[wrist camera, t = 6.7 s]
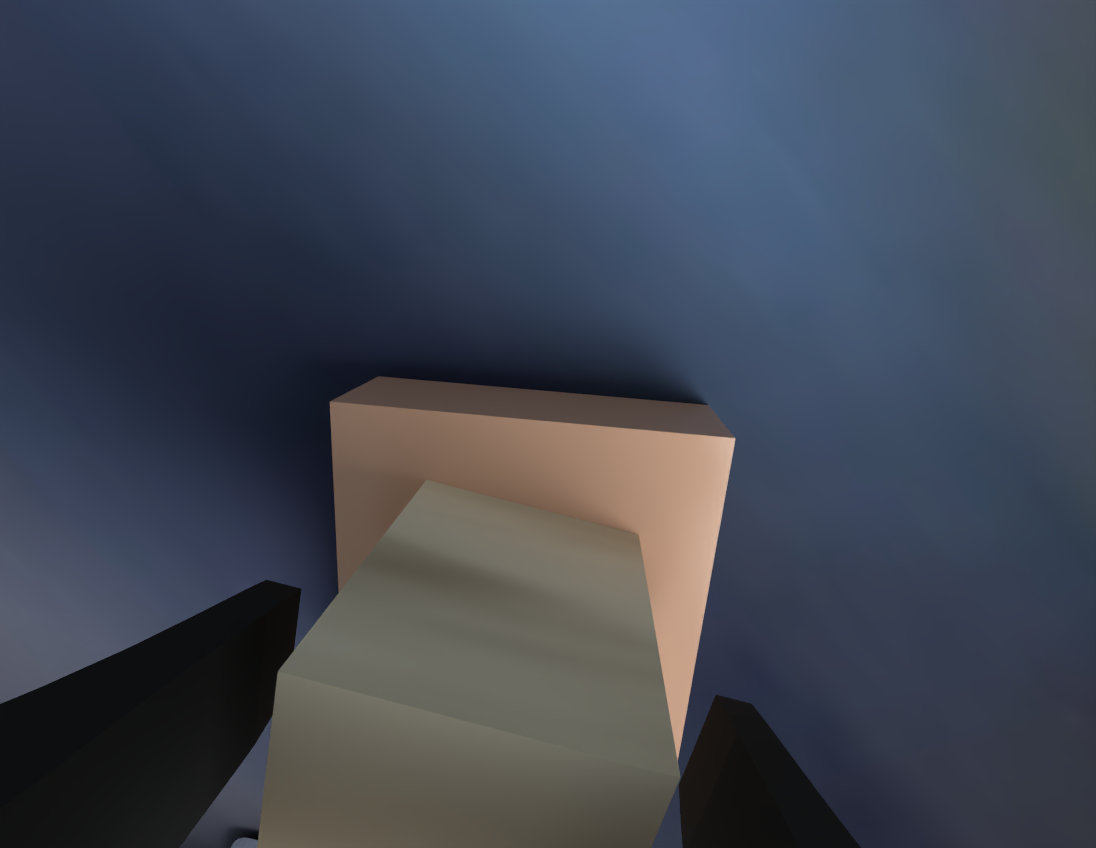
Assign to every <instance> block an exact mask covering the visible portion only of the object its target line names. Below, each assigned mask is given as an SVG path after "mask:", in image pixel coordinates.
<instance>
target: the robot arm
mask: <svg viewBox="0 0 1096 848" xmlns="http://www.w3.org/2000/svg"><path fill="white" fill-rule="evenodd" d="M300 594H301V589H300V588H296V587H292V586H288V585H285V584H281V583H277V582H273V581H269V580H265V581H263V582H261V583H259V584H257V585H254V586H252V587H250V588H248V589H246V590H244V591H242V592H240V593H238V594H236V595H234V596H232V597H230V598H228V599H226V600H224V601H222V602H220V603H218V604H216V605H215V606H213V607H211V608H209V609H207V610H205V611H203V612H201V613H199V614H197V615H195V616H193V617H191V618H189V619H187V620H185V621H183V622H181V623H179V624H177V625H174V626H172V627H170V628H168V629H166V630H164V631H162V632H160V633H158V634H156V635H154V636H152V637H150V638H148V639H146V640H144V641H142V642H140V643H138V644H136V645H134V646H132V647H129V648H127V649H125V650H123V651H121V652H118V653H116V654H114V655H112V656H110V657H107V658H105V659H103V660H101V661H98V662H96V663H94V664H92V665H89V666H87V667H85V668H83V669H81V670H78V671H76V672H74V673H72V674H69V675H67V676H65V677H63V678H60V679H58V680H56V681H54V682H52V683H49V684H47V685H45V686H43V687H40V688H38V689H36V690H33V691H31V692H28V693H26V694H24V695H21V696H19V697H16V698H14V699H11V700H9V701H7V702H4V703H2V704H0V848H179V847H180V846H181V844H182V843H183V841H184V840H185V839H186V837H187V836H188V835H189V833H190V832H191V831H192V829H193V828H194V827H195V825H196V824H197V823H198V821H199V820H200V819H201V817H202V816H203V815H204V813H205V812H206V811H207V809H208V808H209V806H210V805H211V804H212V802H213V801H214V800H215V798H216V797H217V796H218V794H219V793H220V792H221V790H222V789H223V788H224V786H225V785H226V783H227V782H228V781H229V779H230V778H231V777H232V775H233V774H234V773H235V771H236V770H237V768H238V767H239V766H240V764H241V763H242V762H243V760H244V759H245V757H246V756H247V755H248V753H249V752H250V751H251V749H252V748H253V746H254V745H255V743H256V742H257V740H258V738H259V737H260V735H261V733H262V732H263V730H264V728H265V727H266V725H267V723H268V722H269V720H270V718H271V717H272V715H273V708H274V700H275V691H276V683H277V674H278V671H279V669H280V668H281V667H282V666H283V664H284V663H285V662H286V660H287V659H288V658H289V657H290V655H291V654H292V653H293V651H294V645H295V636H296V628H297V619H298V611H299V602H300ZM679 795H680V814H681V830H682V843H683V848H861V847H860V846H859V845H858V843H857V842H856V841H855V840H854V838H853V837H852V836H851V834H850V833H849V832H848V831H847V829H846V828H845V827H844V825H843V824H842V823H841V821H840V820H839V819H838V818H837V816H836V815H835V814H834V812H833V811H832V810H831V808H830V807H829V806H828V805H827V803H826V802H825V801H824V799H823V798H822V797H821V795H820V794H819V793H818V791H817V790H816V789H815V787H814V786H813V785H812V783H811V782H810V781H809V779H808V778H807V777H806V775H805V774H804V773H803V771H802V770H801V768H800V767H799V766H798V764H797V763H796V762H795V760H794V759H793V758H792V756H791V755H790V754H789V752H788V751H787V750H786V748H785V747H784V746H783V744H782V743H781V742H780V740H779V739H778V738H777V736H776V735H775V734H774V732H773V731H772V730H771V728H770V727H769V726H768V724H767V723H766V722H765V720H764V719H763V718H762V716H761V715H760V714H759V713H758V711H757V710H756V709H755V708H754V706H753V705H752V704H750V703H746V702H742V701H738V700H735V699H731V698H727V697H723V696H719V695H716V696H715V698H714V701H713V703H712V706H711V708H710V711H709V713H708V715H707V718H706V720H705V723H704V725H703V728H702V730H701V732H700V735H699V737H698V740H697V742H696V745H695V747H694V750H693V752H692V754H691V757H690V759H689V762H688V764H687V767H686V769H685V771H684V774H683V776H682V779H681V781H680V784H679ZM257 844H258V840H255V839H251V838H245V837H244V838H239V839H237V840H236V841H234V843H233V845H232V846H231V848H257Z"/></svg>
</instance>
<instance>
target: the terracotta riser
mask: <svg viewBox="0 0 1096 848" xmlns="http://www.w3.org/2000/svg"><path fill="white" fill-rule="evenodd" d="M330 418H331V439H332V460H333V482H334V503H335V525H336V546H337V567H338V589H339V592H340V591H341V589H342V588H343V587H344V586H345V584H346V583H347V582H348V580H349V579H350V578H351V577H352V575H353V574H354V573H355V571H356V570H357V569H358V568H359V566H360V565H361V564H362V562H363V561H364V560H365V559H366V557H367V556H368V555H369V553H370V552H371V551H372V549H373V548H374V547H375V546H376V544H377V543H378V542H379V540H380V539H381V538H382V537H383V535H384V534H385V533H386V531H387V530H388V529H389V528H390V526H391V525H392V524H393V522H394V521H395V520H396V519H397V517H398V516H399V515H400V513H401V512H402V511H403V510H404V508H405V507H406V506H407V504H408V503H409V502H410V500H411V499H412V498H413V497H414V495H415V494H416V493H417V491H418V490H419V489H420V488H421V486H422V485H423V484H424V482H425V481H426V480H430V481H434V482H438V483H442V484H446V485H450V486H453V487H457V488H461V489H465V490H469V491H473V492H476V493H480V494H484V495H488V496H492V497H496V498H499V499H503V500H507V501H511V502H515V503H519V504H522V505H526V506H530V507H534V508H538V509H542V510H546V511H549V512H553V513H557V514H561V515H565V516H569V517H572V518H576V519H580V520H584V521H588V522H592V523H595V524H599V525H603V526H607V527H611V528H615V529H618V530H622V531H626V532H630V533H634V534H638V535H639V539H640V545H641V551H642V556H643V562H644V568H645V574H646V580H647V586H648V591H649V597H650V603H651V609H652V615H653V621H654V626H655V632H656V638H657V644H658V650H659V656H660V661H661V667H662V673H663V679H664V685H665V691H666V696H667V702H668V708H669V714H670V720H671V726H672V732H673V737H674V743H675V749H676V755H677V761H678V756H679V751H680V745H681V740H682V734H683V728H684V723H685V717H686V712H687V706H688V700H689V695H690V689H691V684H692V678H693V673H694V667H695V661H696V656H697V650H698V645H699V639H700V633H701V628H702V622H703V617H704V611H705V606H706V600H707V594H708V589H709V583H710V578H711V572H712V566H713V561H714V555H715V550H716V544H717V539H718V533H719V527H720V522H721V516H722V511H723V505H724V499H725V494H726V488H727V483H728V477H729V472H730V466H731V460H732V455H733V449H734V444H735V437H734V436H733V435H732V433H731V432H730V431H729V430H728V429H727V427H726V426H725V425H724V424H723V423H722V421H721V420H720V419H719V418H718V416H717V415H716V414H715V413H714V412H713V410H712V409H711V408H710V407H709V405H702V404H691V403H679V402H668V401H656V400H645V399H633V398H622V397H610V396H599V395H587V394H576V393H564V392H553V391H541V390H530V389H518V388H507V387H495V386H484V385H472V384H461V383H449V382H438V381H426V380H415V379H403V378H392V377H380V376H378V377H376V378H374V379H372V380H370V381H368V382H367V383H365V384H363V385H361V386H359V387H357V388H355V389H353V390H351V391H349V392H347V393H345V394H343V395H342V396H340V397H338V398H336V399H334V400H332V401H330Z"/></svg>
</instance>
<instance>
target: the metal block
mask: <svg viewBox="0 0 1096 848" xmlns="http://www.w3.org/2000/svg"><path fill="white" fill-rule="evenodd" d="M679 780H680V772H679V767H678V761H677V755H676V749H675V743H674V737H673V732H672V726H671V720H670V714H669V708H668V702H667V696H666V691H665V685H664V679H663V673H662V667H661V661H660V656H659V650H658V644H657V638H656V632H655V626H654V621H653V615H652V609H651V603H650V597H649V591H648V586H647V580H646V574H645V568H644V562H643V556H642V551H641V545H640V539H639V535H638V534H634V533H630V532H626V531H622V530H618V529H615V528H611V527H607V526H603V525H599V524H595V523H592V522H588V521H584V520H580V519H576V518H572V517H569V516H565V515H561V514H557V513H553V512H549V511H546V510H542V509H538V508H534V507H530V506H526V505H522V504H519V503H515V502H511V501H507V500H503V499H499V498H496V497H492V496H488V495H484V494H480V493H476V492H473V491H469V490H465V489H461V488H457V487H453V486H450V485H446V484H442V483H438V482H434V481H430V480H426V481H425V482H424V484H423V485H422V486H421V488H420V489H419V490H418V491H417V493H416V494H415V495H414V497H413V498H412V499H411V500H410V502H409V503H408V504H407V506H406V507H405V508H404V510H403V511H402V512H401V513H400V515H399V516H398V517H397V519H396V520H395V521H394V522H393V524H392V525H391V526H390V528H389V529H388V530H387V531H386V533H385V534H384V535H383V537H382V538H381V539H380V540H379V542H378V543H377V544H376V546H375V547H374V548H373V549H372V551H371V552H370V553H369V555H368V556H367V557H366V559H365V560H364V561H363V562H362V564H361V565H360V566H359V568H358V569H357V570H356V571H355V573H354V574H353V575H352V577H351V578H350V579H349V580H348V582H347V583H346V584H345V586H344V587H343V588H342V589H341V591H340V592H339V593H338V595H337V596H336V597H335V598H334V600H333V601H332V602H331V604H330V605H329V606H328V608H327V609H326V610H325V611H324V613H323V614H322V615H321V617H320V618H319V619H318V620H317V622H316V623H315V624H314V626H313V627H312V628H311V629H310V631H309V632H308V633H307V635H306V636H305V637H304V638H303V640H302V641H301V642H300V644H299V645H298V646H297V647H296V649H295V650H294V651H293V653H292V654H291V655H290V657H289V658H288V659H287V660H286V662H285V663H284V664H283V666H282V667H281V668H280V669H279V671H278V674H277V683H276V691H275V700H274V708H273V717H272V725H271V734H270V742H269V751H268V759H267V768H266V776H265V785H264V793H263V802H262V810H261V819H260V827H259V836H258V844H257V848H651V846H652V844H653V842H654V839H655V837H656V834H657V832H658V830H659V827H660V825H661V823H662V820H663V818H664V815H665V813H666V811H667V808H668V806H669V804H670V801H671V799H672V796H673V794H674V792H675V789H676V787H677V785H678V782H679Z"/></svg>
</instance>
